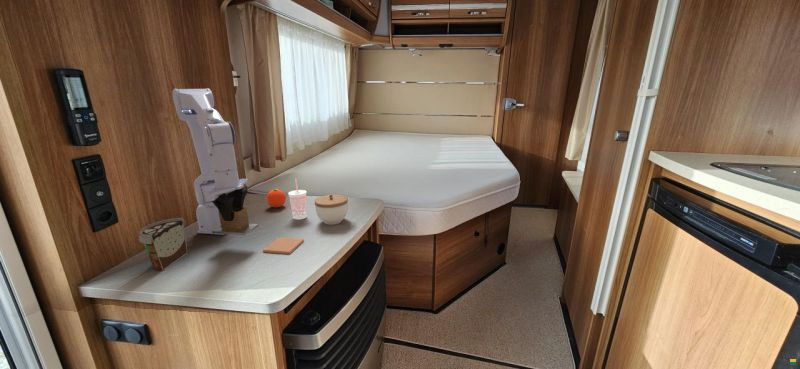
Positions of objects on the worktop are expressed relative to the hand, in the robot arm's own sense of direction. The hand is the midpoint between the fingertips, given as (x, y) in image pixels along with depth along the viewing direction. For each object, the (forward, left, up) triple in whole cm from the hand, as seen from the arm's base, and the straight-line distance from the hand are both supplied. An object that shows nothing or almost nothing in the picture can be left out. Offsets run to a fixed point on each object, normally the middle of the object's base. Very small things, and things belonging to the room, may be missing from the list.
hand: (233, 217), depth 90 cm
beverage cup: (+6, +25, -9) cm, 27 cm away
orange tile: (+9, +3, -9) cm, 13 cm away
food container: (-14, -10, -9) cm, 20 cm away
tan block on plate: (0, 0, -3) cm, 4 cm away
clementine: (-8, +34, -9) cm, 36 cm away
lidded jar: (+19, +23, -9) cm, 31 cm away
